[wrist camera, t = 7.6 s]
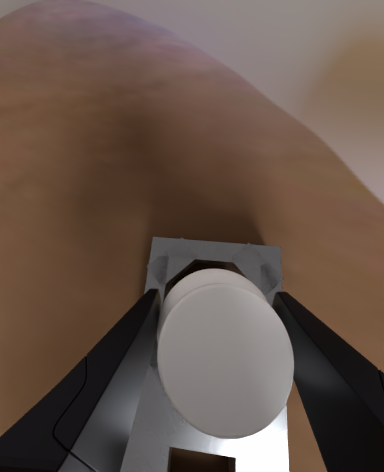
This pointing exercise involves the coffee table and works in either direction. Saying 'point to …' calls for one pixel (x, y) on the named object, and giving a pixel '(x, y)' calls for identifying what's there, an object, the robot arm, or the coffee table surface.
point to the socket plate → (152, 395)
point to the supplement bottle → (223, 354)
